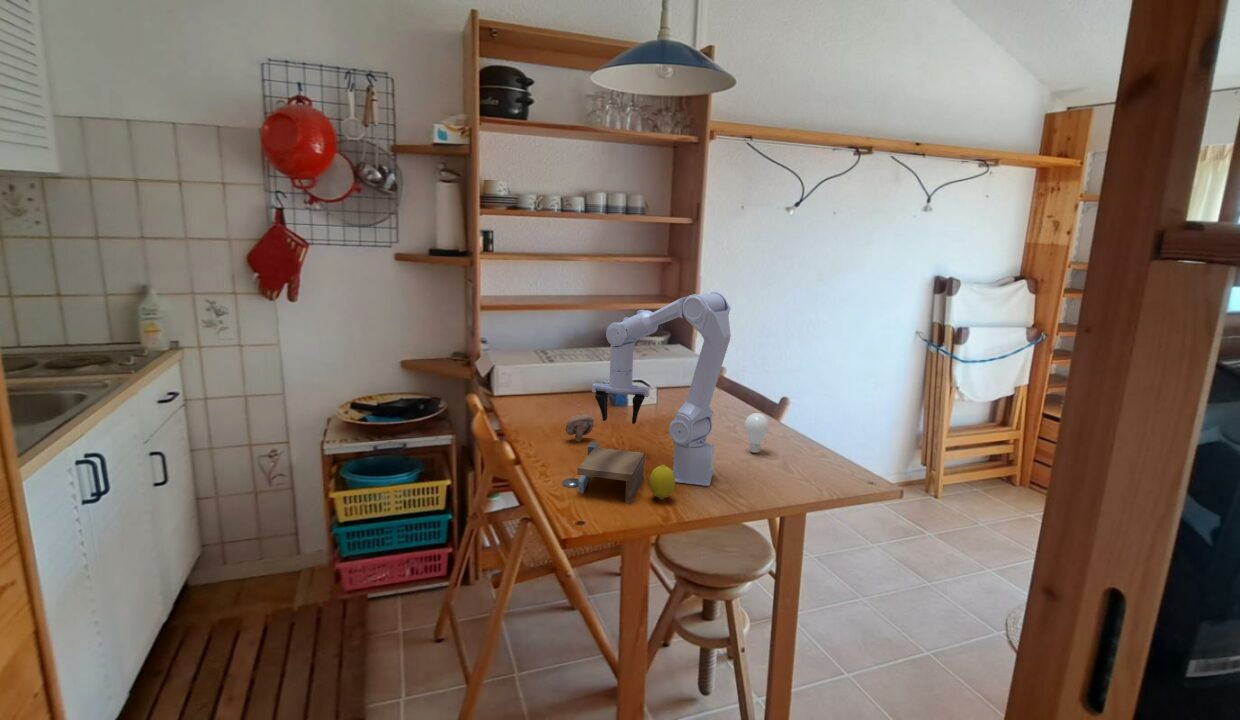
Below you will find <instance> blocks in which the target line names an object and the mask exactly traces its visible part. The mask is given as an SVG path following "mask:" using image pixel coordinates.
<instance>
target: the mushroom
mask: <svg viewBox="0 0 1240 720" xmlns="http://www.w3.org/2000/svg"><path fill="white" fill-rule="evenodd" d="M594 422H595V419H594V417H593V416H592V415H590V414H588V413H583V414H582V413H579V414H577V415H576V414H575V415H573V416H571V417H570V418H569V419H568V420H567V422H566V425H565V428H564V429H565V432H566V434H567V435H569V436H574V435H575V436H574V439H575V442H578V441H579V442H581V440H582V438H583V437H584V436H587V435H589V434H590V433H591V432H592V430H593V428H594V426H595V425H594Z"/></svg>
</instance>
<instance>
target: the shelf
mask: <svg viewBox="0 0 1240 720" xmlns="http://www.w3.org/2000/svg"><path fill="white" fill-rule="evenodd" d="M644 471H645V452H639V451H631V450H622V449H614V448H605V447H598V448H596V447H595V448H594V449H593V450H592V451H591V453H590V454H589V455H588V454H587V456H586V458H585V459H584V460H583V461H582V462H581V463H580V465H579V466H578V467H577V475H578V476H581V475H584V476H590V477H593V478H602V479H608V480H609V479H610V480H616V481H617V480H619V481H625V500H624V501H625V502H626V504H632V503H633V500H634V498H635V496H636V494H637V492H638V490H639V489H640V486H641V484H642V483H643V481H644V476H645V475H644ZM625 502H624V503H625Z"/></svg>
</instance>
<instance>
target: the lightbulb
mask: <svg viewBox="0 0 1240 720" xmlns="http://www.w3.org/2000/svg"><path fill="white" fill-rule="evenodd" d="M744 429H745V431H746V433H747V434H748V438H749V442H750V443H749V451H750V452H751V453H752V454H759V453H761V443H762V442H763V438H764V437H765V435H766V434H767V433H768V431H769V429H770V421H769V419H768V418H767V416H766V415H765V414H763V413H760V412H753V413H750V414H749V415H748V416H747V417H746V418H745V421H744Z"/></svg>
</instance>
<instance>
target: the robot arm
mask: <svg viewBox="0 0 1240 720" xmlns="http://www.w3.org/2000/svg"><path fill="white" fill-rule="evenodd" d="M730 312H731V306H730V304H729V303H728V301H727V299H726V298H725V296H724V294H722V293H720V292H717V291H714V292H710V293H702V294H701V293H700V294H695V293H693V294H690V295H688V296H685V297H680V298H678V299H676V300H674V301H673V302H670V303H668V304H667V305H664V306H663V307H661V308H659V309H657V310H655V311H651V310H647V309H646V310H645V309H639V310H637V311H636V314H635V315H632V316H631V317H629V316H628V317H627V316H626V317H624V318H622V319H623V321H621V322H617V321H615V322H612V323H611V324H609V326H607V328H606V331H605V336H606V340H607V342H608V343H609V344H610V353H609V354H610V357H609V383H600V382H599V383H597V382H596V383H595V382H594V383H593V384H591V392H592V393H595V395H594V398H595V400H596V402H597V404H598V406H599V408H600V410H599V411H600V413H601V417H602V422H606V421H607V419H608V400H609V394H615V395H616V394H618V395H626V396H627V395H628V396H629V395H630V396H633V397H632V417H631V423H632V425H635V424H636V423H637V419H638V414H639V411H640V409H641V407H642V404H643V402H644V400H645V398H649V396H650V391H651V390H650V387H644V386H638V385H633V373H634V371H633V367H634V350H635V349H636V343H637V341H638V340H640V339H643V338H645V337H647V336H650V335H652V334H654V333H656V332H657V330H658V329H659V325H661V324H665V323H668V322H670V321H672V320H675V319H678V318H681V319H685V320H687V322H688V323H689V324H690V325H691V326H692V327H693V328H694V329H695V330H696V331H697V332H698V333H699V334H700V335H701V337H702V338H703V343H702V347H701V349H700V352H699V356H698V360H697V364H696V366H695V370H694V373H693V376H692V379H691V383H690V387H689V391H688V393H687V396H686V400H685V402H684V404H683V405H682V406H681V407H680V408H679V409H678V411H677V412H676V416H675V418H673V420H672V421H671V422H670V423H669V427H668V433H669V436H670V438H671V440H672V441H673V445H674V447H673V449H674V450H673V463H672V464H673V466H672V471H673V473H674V476H675V483H678V484H679V483H680V484H687V485H695V486H704V487H710V485H711V481H712V476H713V475H714V457H715V456H714V453H715V445H714V444H711V443H707V442H706V441H707V437H708V436H709V435H710V433H711V432H712V430H713V429H712V428H713V420H712V418H713V413H714V411H712V409H711V408H710V405H711V401H712V399H713V398H712V397H713V395H714V392H715V389H716V386H717V382H718V379H719V377H720V372H721V369H722V367H723V363H724V360H725V357H726V354H727V351H728V347H729V344H730V340H731V337H732V336H731V334H732V333H731V327H730V320H729V318H730V316H729V315H730Z"/></svg>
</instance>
